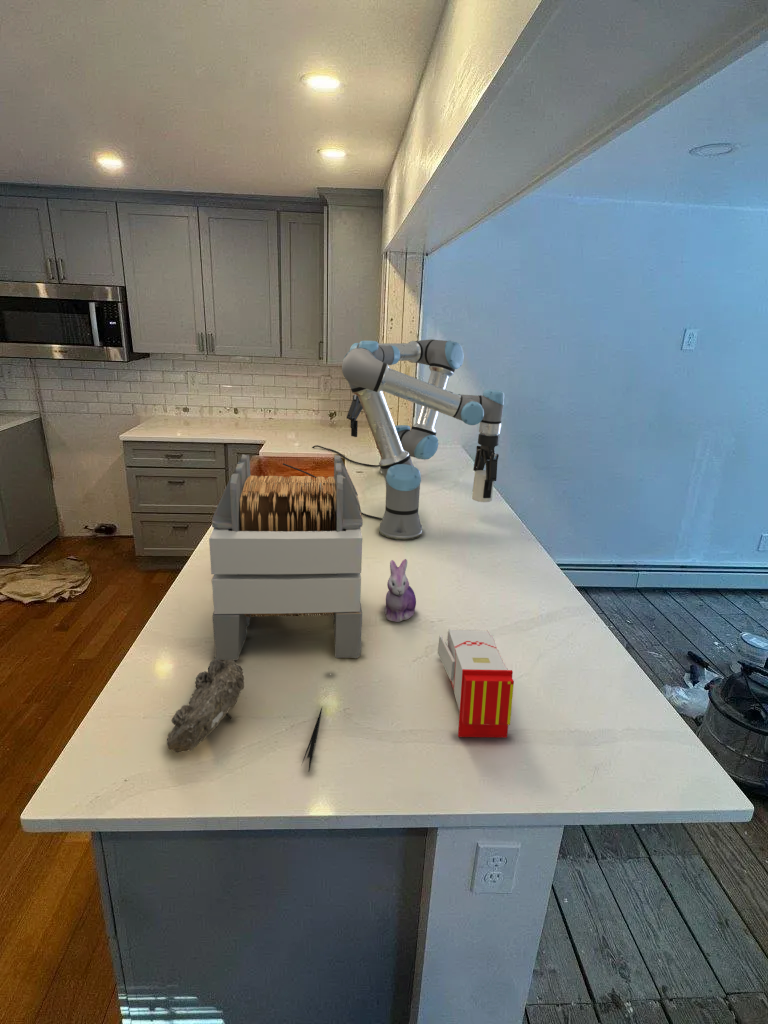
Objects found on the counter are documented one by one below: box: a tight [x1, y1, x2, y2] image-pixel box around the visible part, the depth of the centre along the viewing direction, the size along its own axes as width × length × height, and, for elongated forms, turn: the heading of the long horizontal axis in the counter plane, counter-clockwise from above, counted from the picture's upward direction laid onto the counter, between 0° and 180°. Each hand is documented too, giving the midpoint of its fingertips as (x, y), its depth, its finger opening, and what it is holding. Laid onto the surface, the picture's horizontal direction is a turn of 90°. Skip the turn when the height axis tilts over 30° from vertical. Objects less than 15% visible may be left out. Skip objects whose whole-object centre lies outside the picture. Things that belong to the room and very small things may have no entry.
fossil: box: [166, 659, 245, 754], centre depth 106 cm, size 22×10×15 cm
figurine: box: [384, 558, 417, 623], centre depth 145 cm, size 9×10×15 cm
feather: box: [301, 673, 332, 771], centre depth 108 cm, size 2×28×2 cm
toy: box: [437, 628, 515, 738], centre depth 117 cm, size 12×13×30 cm
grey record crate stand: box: [208, 453, 364, 661], centre depth 135 cm, size 34×33×41 cm
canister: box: [471, 469, 495, 503], centre depth 210 cm, size 7×7×10 cm
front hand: (482, 494), depth 211 cm, fingers closed on canister, 7 cm apart
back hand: (365, 434), depth 232 cm, fingers open, 13 cm apart
